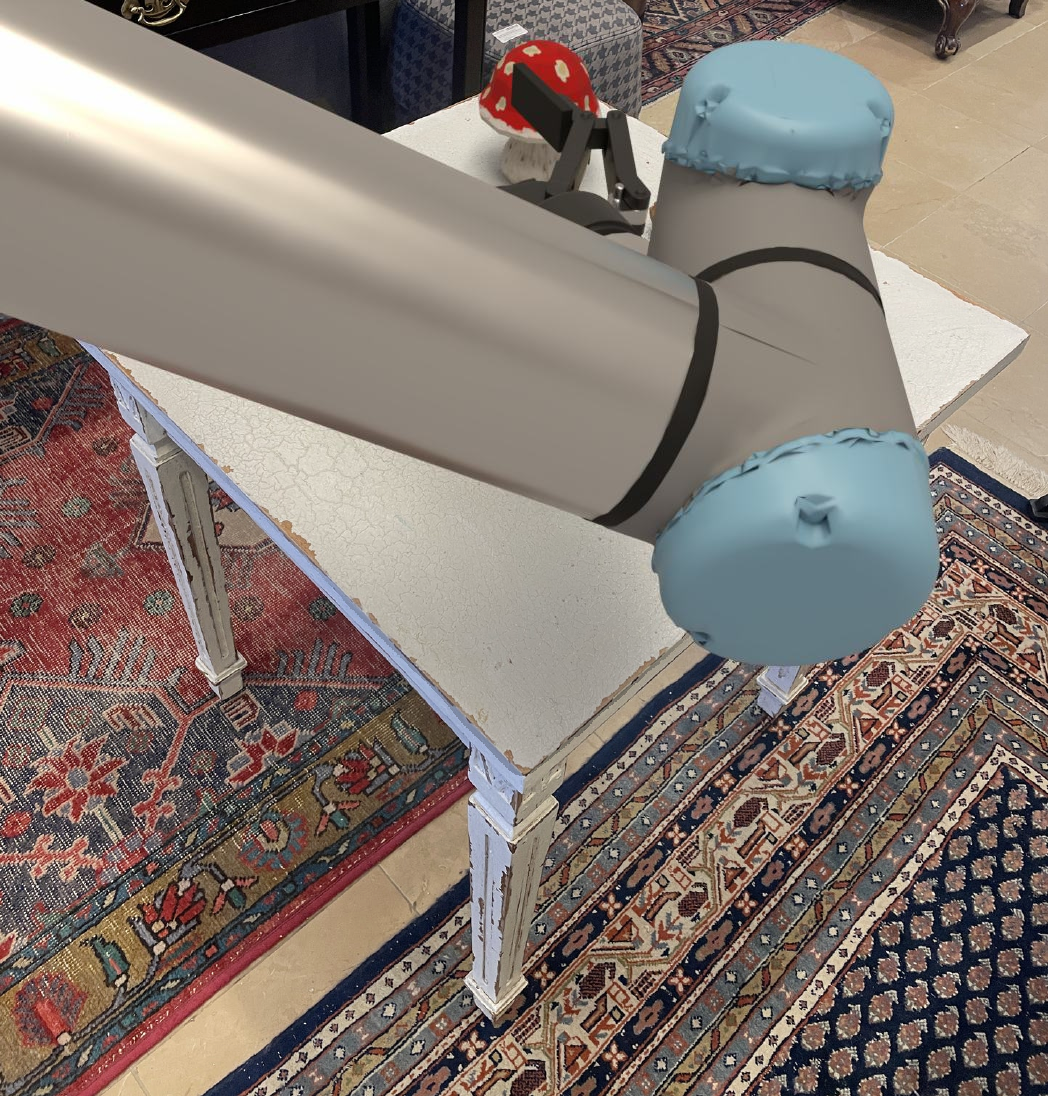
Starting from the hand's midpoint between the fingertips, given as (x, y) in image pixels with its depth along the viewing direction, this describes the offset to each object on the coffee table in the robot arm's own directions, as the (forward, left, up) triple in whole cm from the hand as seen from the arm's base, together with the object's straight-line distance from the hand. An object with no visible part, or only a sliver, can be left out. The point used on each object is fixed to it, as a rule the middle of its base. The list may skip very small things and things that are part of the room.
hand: (421, 100), depth 61 cm
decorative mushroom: (+29, +34, -30) cm, 54 cm away
